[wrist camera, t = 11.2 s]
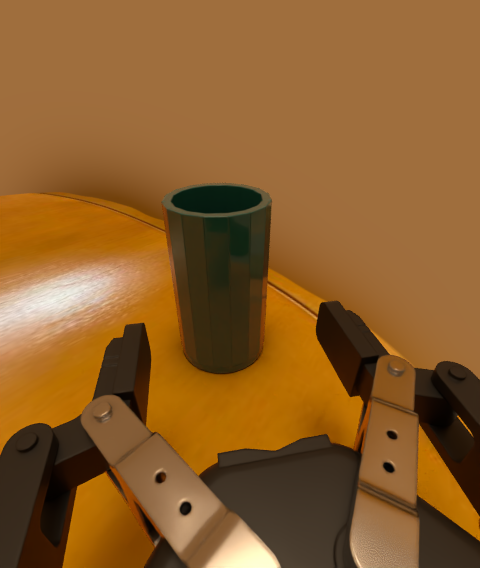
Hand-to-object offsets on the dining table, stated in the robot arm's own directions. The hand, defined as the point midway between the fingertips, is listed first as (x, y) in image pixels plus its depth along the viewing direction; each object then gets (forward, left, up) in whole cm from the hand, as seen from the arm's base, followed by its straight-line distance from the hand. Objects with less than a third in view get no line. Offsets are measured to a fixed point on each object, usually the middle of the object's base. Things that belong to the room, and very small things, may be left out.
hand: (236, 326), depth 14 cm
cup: (+3, -6, -7) cm, 9 cm away
